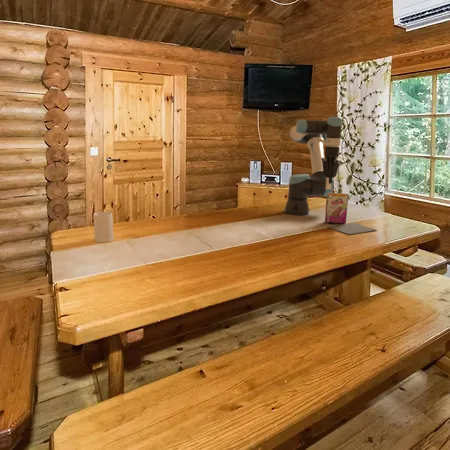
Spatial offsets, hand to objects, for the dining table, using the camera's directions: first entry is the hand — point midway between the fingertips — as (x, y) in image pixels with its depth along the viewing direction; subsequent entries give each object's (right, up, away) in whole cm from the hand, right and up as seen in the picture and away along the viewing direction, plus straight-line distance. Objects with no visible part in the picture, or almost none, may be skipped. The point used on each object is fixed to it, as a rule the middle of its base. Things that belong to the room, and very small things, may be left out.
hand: (328, 189), depth 220 cm
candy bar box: (+3, -19, -2) cm, 20 cm away
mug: (-113, -27, -41) cm, 123 cm away
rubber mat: (+9, -22, -12) cm, 27 cm away
